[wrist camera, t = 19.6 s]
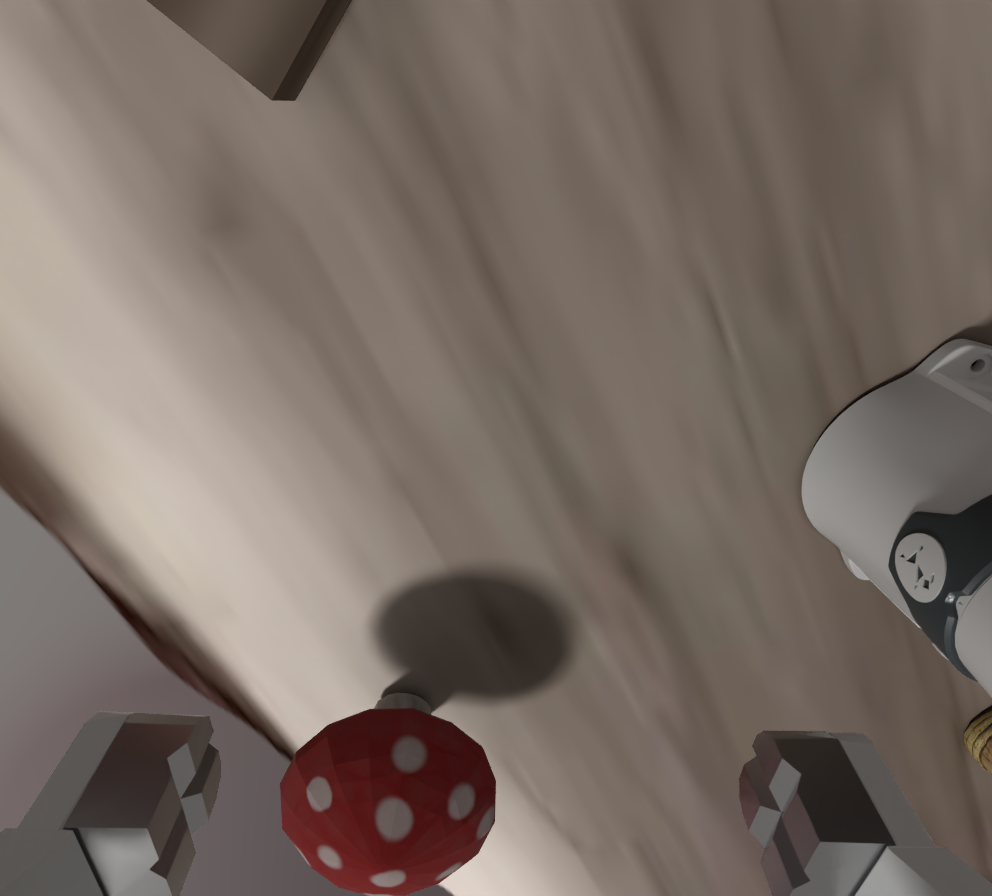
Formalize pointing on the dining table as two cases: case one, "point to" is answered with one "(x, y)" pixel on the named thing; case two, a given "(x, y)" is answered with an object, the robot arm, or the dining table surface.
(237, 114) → the dining table surface
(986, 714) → the wooden mug
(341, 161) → the dining table surface
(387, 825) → the decorative mushroom
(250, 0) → the walnut plinth
